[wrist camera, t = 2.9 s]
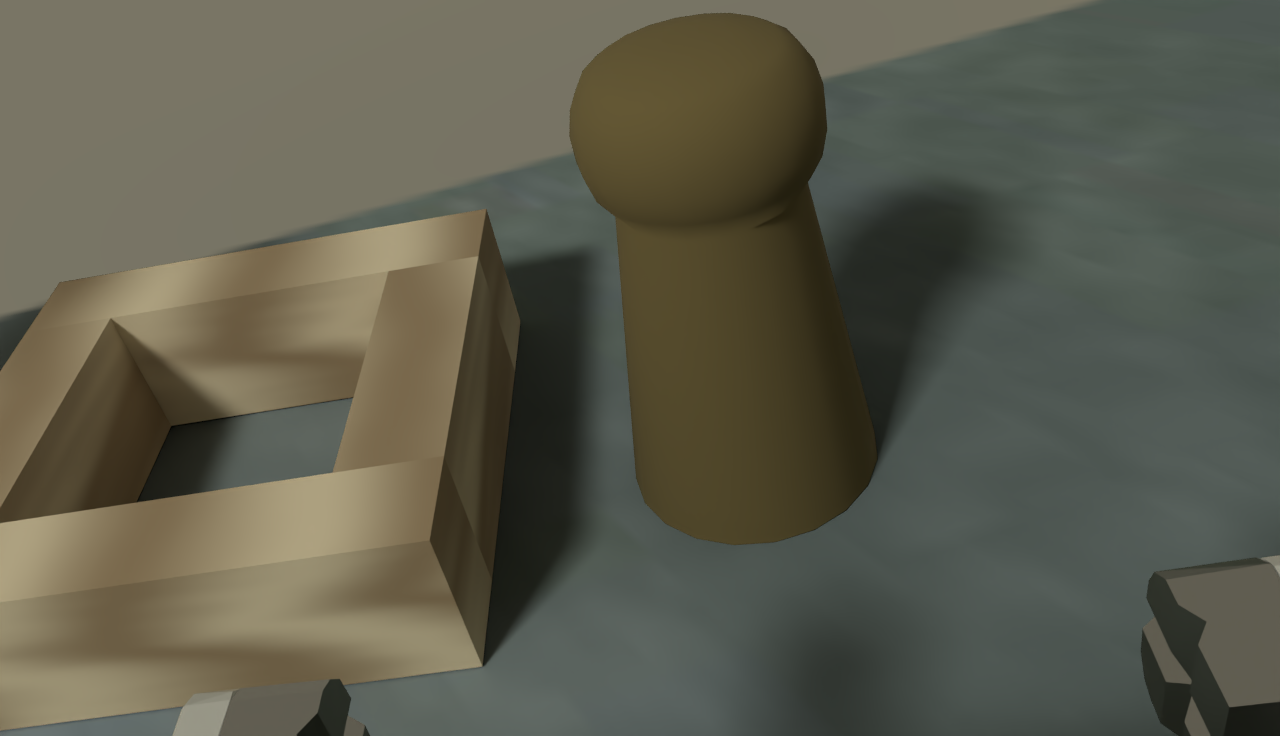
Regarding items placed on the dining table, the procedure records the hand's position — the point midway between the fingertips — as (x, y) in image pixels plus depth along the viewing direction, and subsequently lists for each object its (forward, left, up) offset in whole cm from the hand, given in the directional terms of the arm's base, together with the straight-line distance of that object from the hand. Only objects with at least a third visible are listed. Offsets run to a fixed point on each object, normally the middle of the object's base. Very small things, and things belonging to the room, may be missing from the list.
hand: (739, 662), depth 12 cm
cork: (0, -15, -11) cm, 18 cm away
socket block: (+13, -16, -10) cm, 23 cm away
